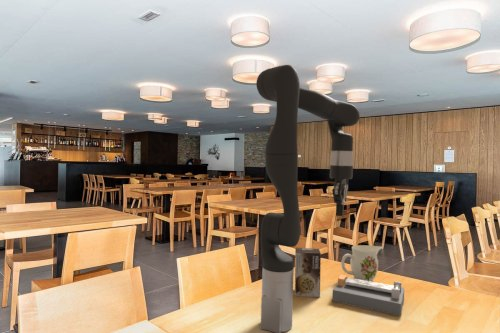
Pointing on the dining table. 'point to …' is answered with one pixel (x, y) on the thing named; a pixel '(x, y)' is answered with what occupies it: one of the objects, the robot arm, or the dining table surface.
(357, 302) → the block
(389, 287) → the metal hinged lever
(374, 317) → the dining table surface
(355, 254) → the pitcher
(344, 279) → the block
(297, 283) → the coffee box
